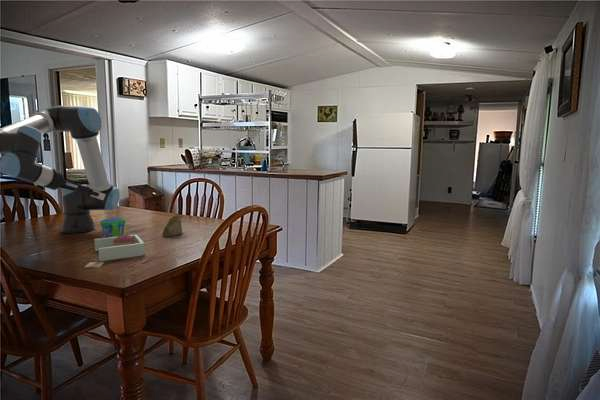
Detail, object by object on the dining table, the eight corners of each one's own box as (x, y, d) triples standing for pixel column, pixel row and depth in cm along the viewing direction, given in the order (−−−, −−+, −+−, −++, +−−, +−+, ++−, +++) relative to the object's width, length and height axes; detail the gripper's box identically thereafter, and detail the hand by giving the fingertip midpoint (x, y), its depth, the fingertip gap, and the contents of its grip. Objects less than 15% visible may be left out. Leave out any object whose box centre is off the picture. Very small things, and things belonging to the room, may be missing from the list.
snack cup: (101, 238, 188) (100, 217, 186) (125, 236, 192) (124, 216, 191) (101, 246, 174) (99, 224, 172) (127, 244, 178) (126, 222, 177)
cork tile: (84, 269, 146) (84, 266, 146) (90, 265, 151) (90, 262, 150) (98, 269, 146) (98, 266, 146) (104, 265, 151) (104, 261, 151)
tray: (99, 261, 154) (98, 248, 153) (95, 250, 168) (94, 239, 167) (145, 255, 163) (144, 243, 162) (137, 245, 177) (136, 234, 176)
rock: (161, 233, 189) (182, 229, 192) (158, 217, 193) (179, 214, 196) (163, 242, 198) (184, 238, 202) (161, 227, 202) (181, 223, 205)
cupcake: (119, 248, 171) (118, 221, 169) (139, 249, 171) (137, 222, 169) (109, 254, 163) (108, 226, 161) (130, 255, 162) (128, 226, 161)
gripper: (35, 184, 152) (91, 203, 172) (52, 189, 145) (108, 207, 165) (43, 166, 154) (98, 187, 173) (60, 170, 147) (115, 190, 166)
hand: (103, 197), depth 169 cm, fingers closed
